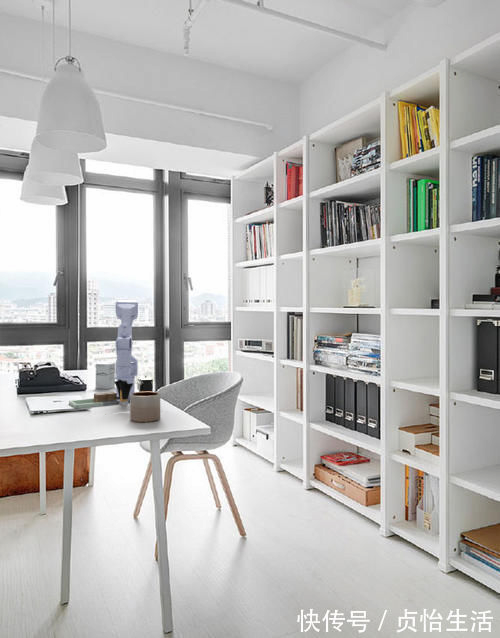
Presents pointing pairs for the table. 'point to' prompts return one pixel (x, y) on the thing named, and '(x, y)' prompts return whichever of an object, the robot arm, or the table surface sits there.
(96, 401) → the chip
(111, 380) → the supplement box
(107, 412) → the table surface
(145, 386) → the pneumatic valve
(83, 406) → the tray
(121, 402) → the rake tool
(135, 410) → the planter
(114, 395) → the chip
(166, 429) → the table surface
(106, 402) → the slot bed
